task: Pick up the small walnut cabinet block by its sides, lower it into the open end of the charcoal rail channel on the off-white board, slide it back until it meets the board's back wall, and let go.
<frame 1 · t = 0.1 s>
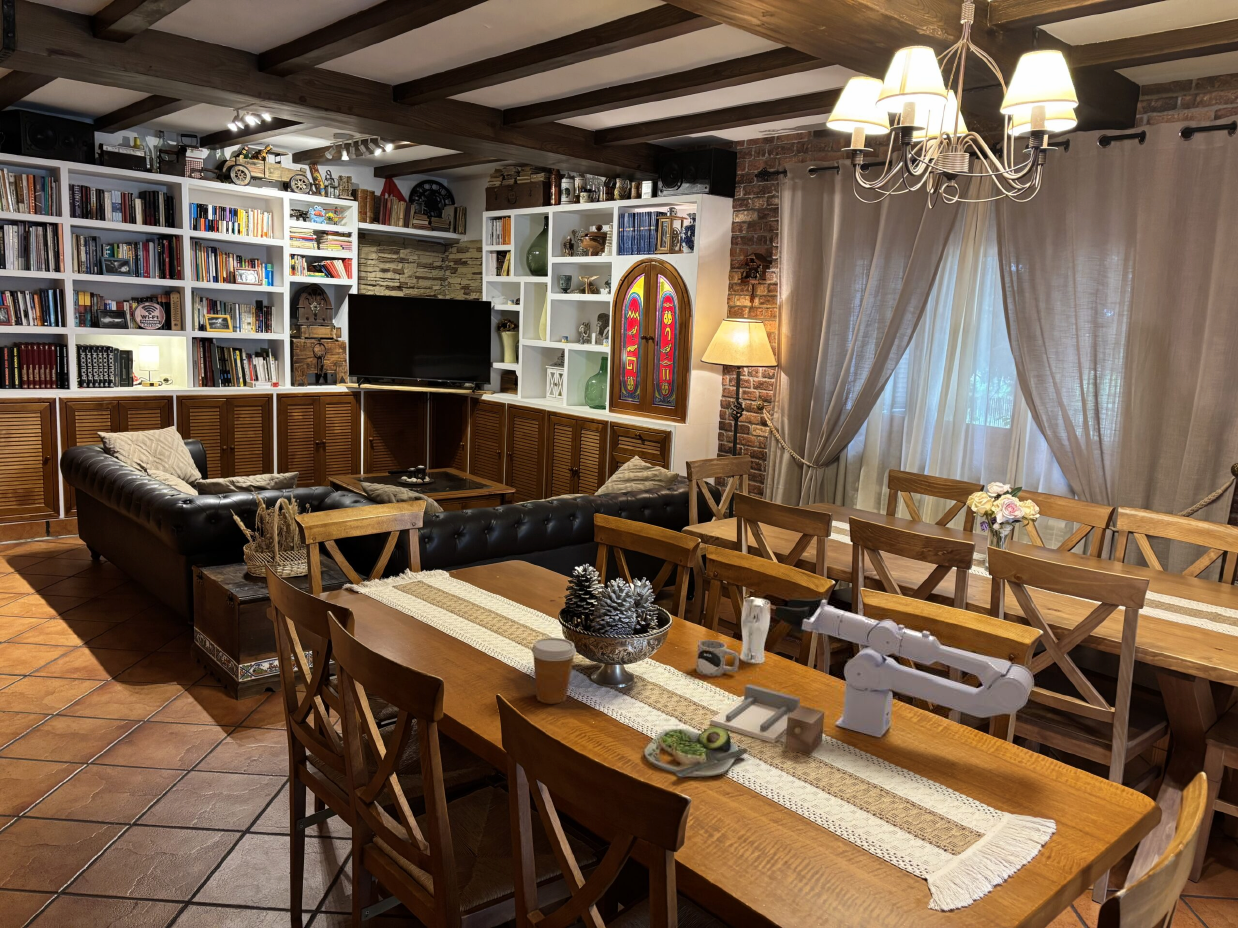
hand: (782, 607, 198), 22 cm above the table, tool horizontal, fingers open, 7 cm apart
disposable coffee cup: (551, 698, 196), on the table
beer glass: (752, 660, 227), on the table
cleat board: (757, 720, 190), on the table
avocado toast plate: (693, 758, 172), on the table
mug: (716, 673, 217), on the table
cabinet block: (803, 745, 180), on the table
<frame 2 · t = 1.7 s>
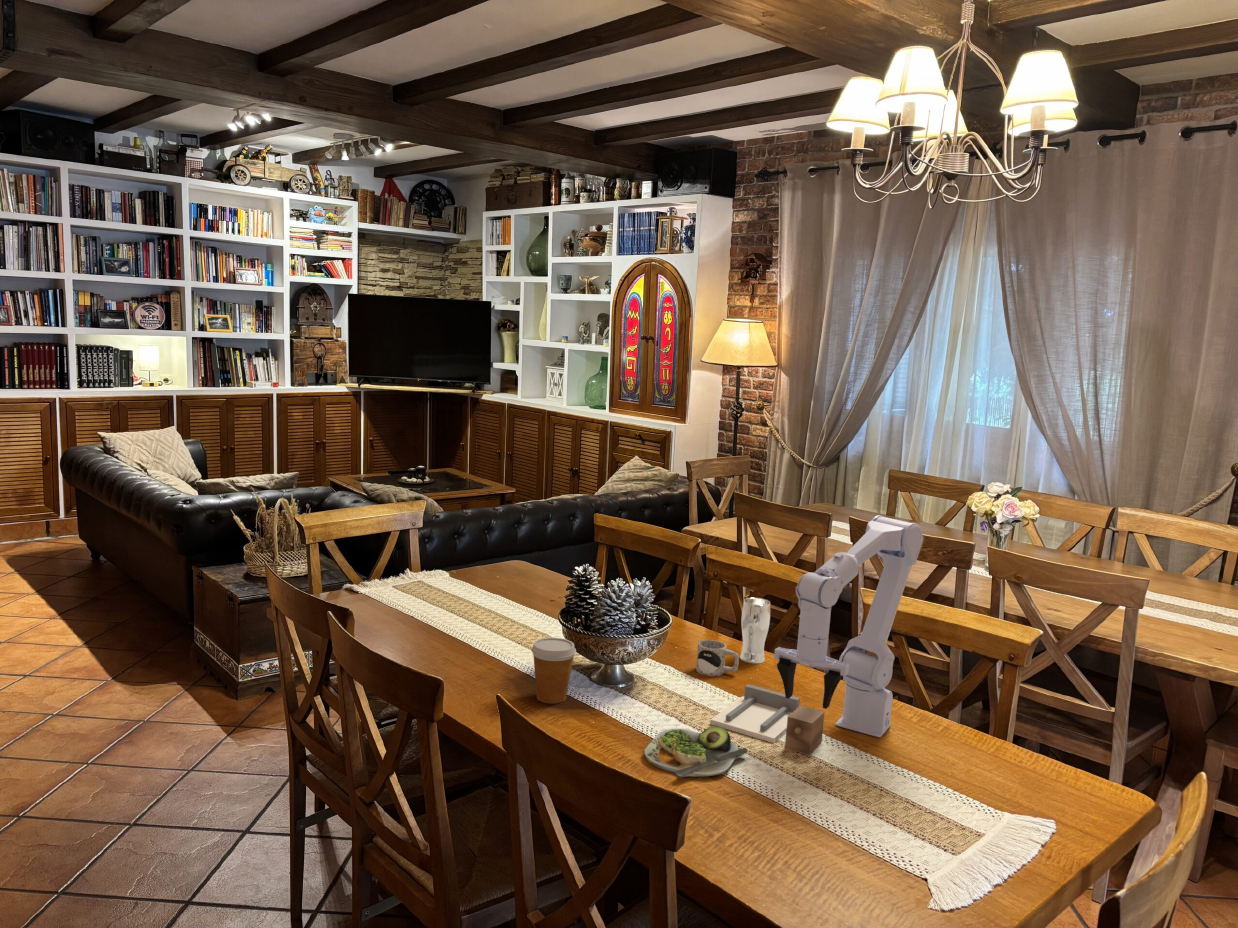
hand: (807, 701, 179), 9 cm above the table, tool pointing down, fingers open, 7 cm apart
nothing on the table moved.
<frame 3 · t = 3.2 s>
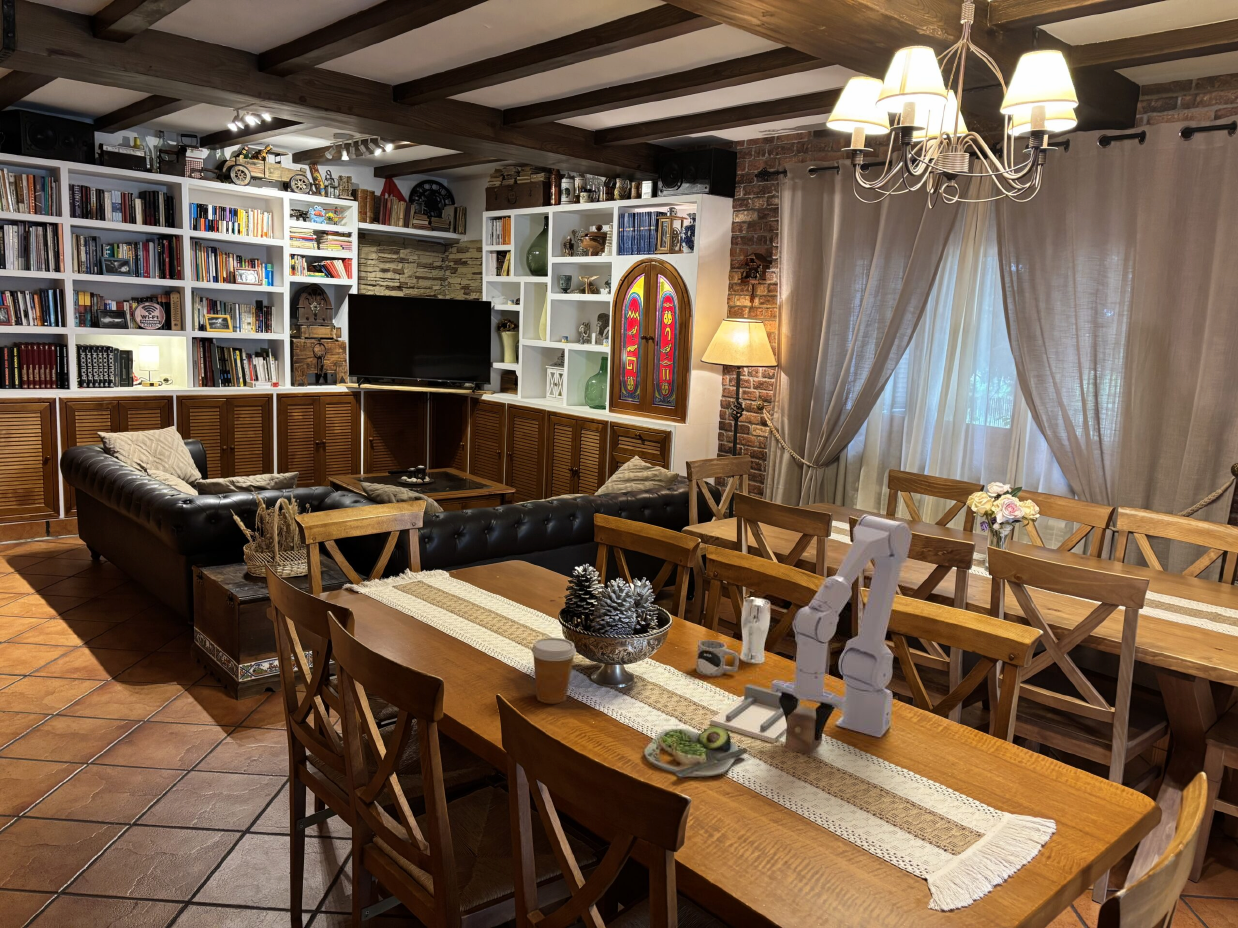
hand: (804, 734, 179), 2 cm above the table, tool pointing down, fingers closed on cabinet block, 5 cm apart
cabinet block: (803, 744, 180), on the table, touching gripper
everything else where it was.
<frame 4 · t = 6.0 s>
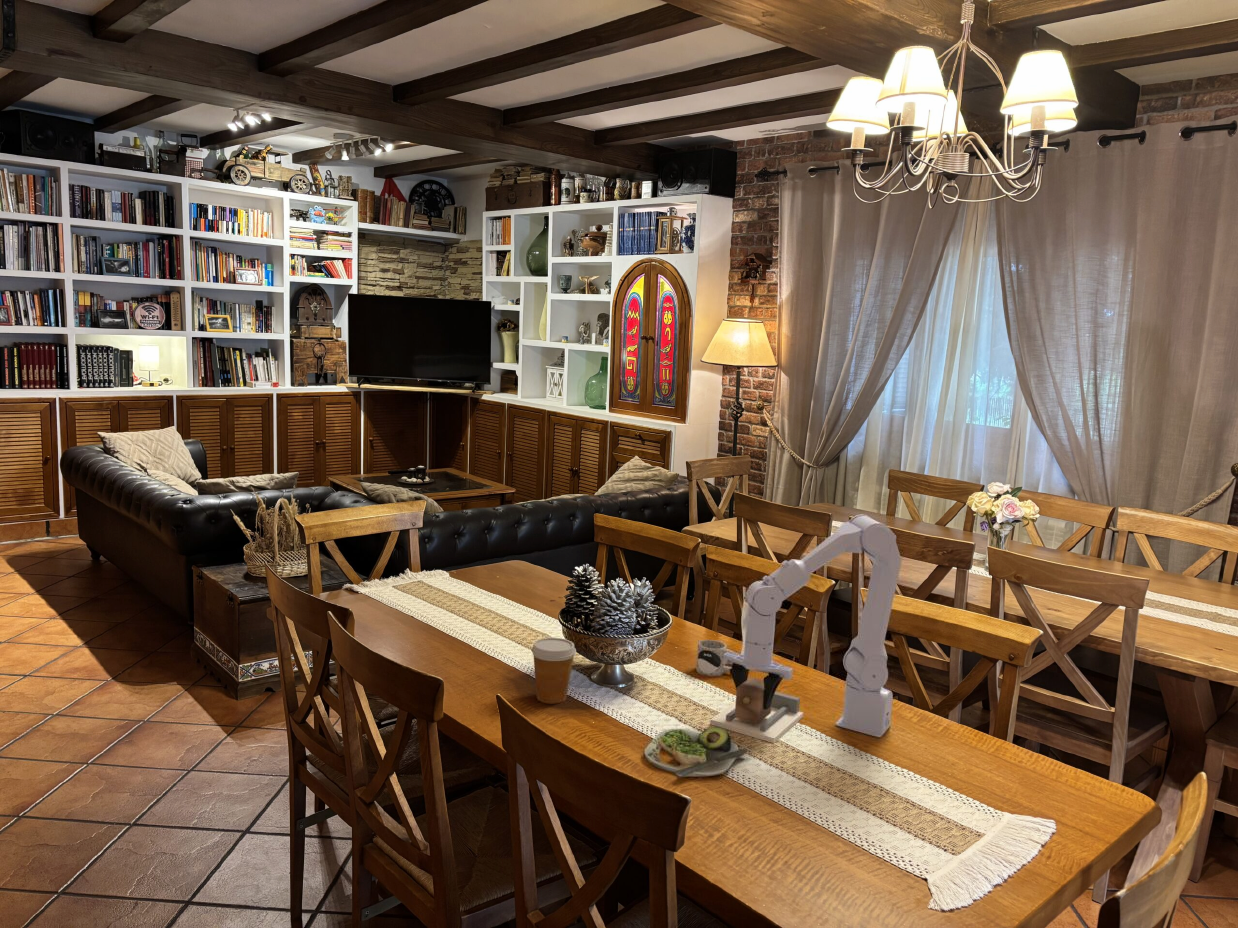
hand: (753, 704, 187), 4 cm above the table, tool pointing down, fingers closed on cabinet block, 5 cm apart
cabinet block: (752, 715, 188), point 2 cm above the table, touching gripper
everything else where it was.
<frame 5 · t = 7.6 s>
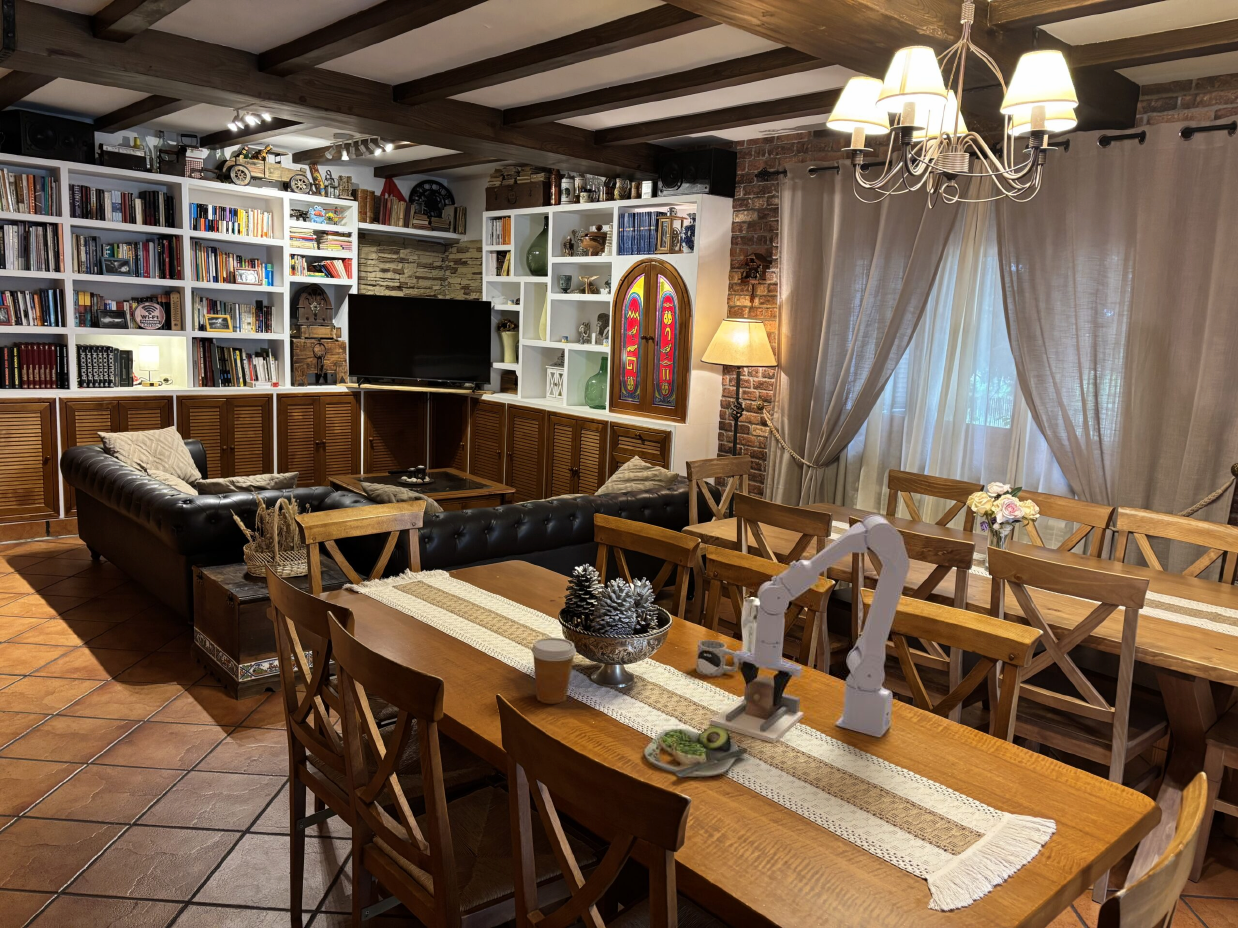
hand: (764, 701, 192), 3 cm above the table, tool pointing down, fingers closed on cabinet block, 5 cm apart
cabinet block: (762, 711, 192), point 1 cm above the table, touching gripper
everything else where it was.
when the fingers open (3 cm above the table, at t = 8.8 s): cabinet block stays where it is, resting on cleat board.
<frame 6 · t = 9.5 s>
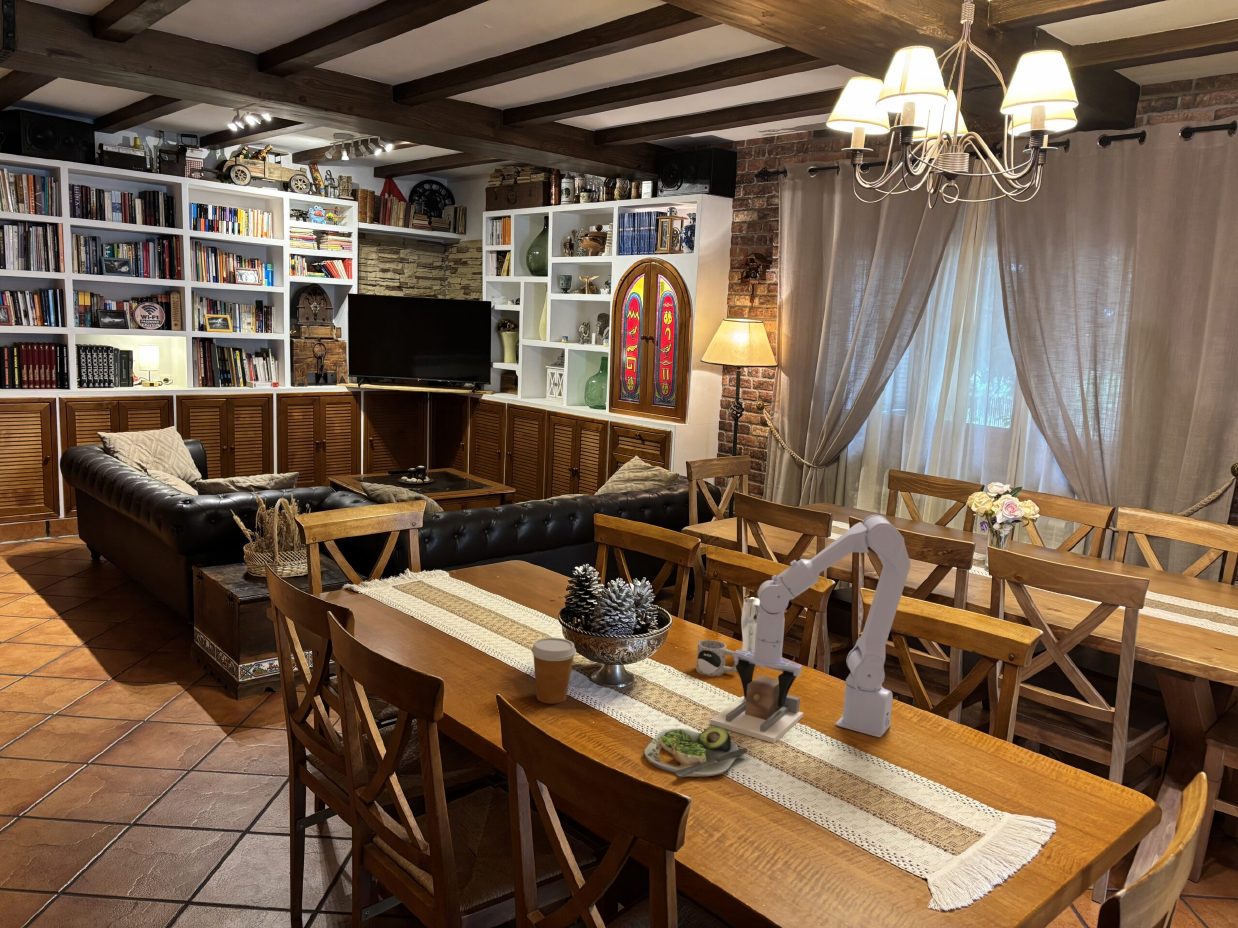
hand: (764, 700, 192), 4 cm above the table, tool pointing down, fingers open, 7 cm apart
cabinet block: (762, 711, 192), point 1 cm above the table, touching cleat board
everything else where it was.
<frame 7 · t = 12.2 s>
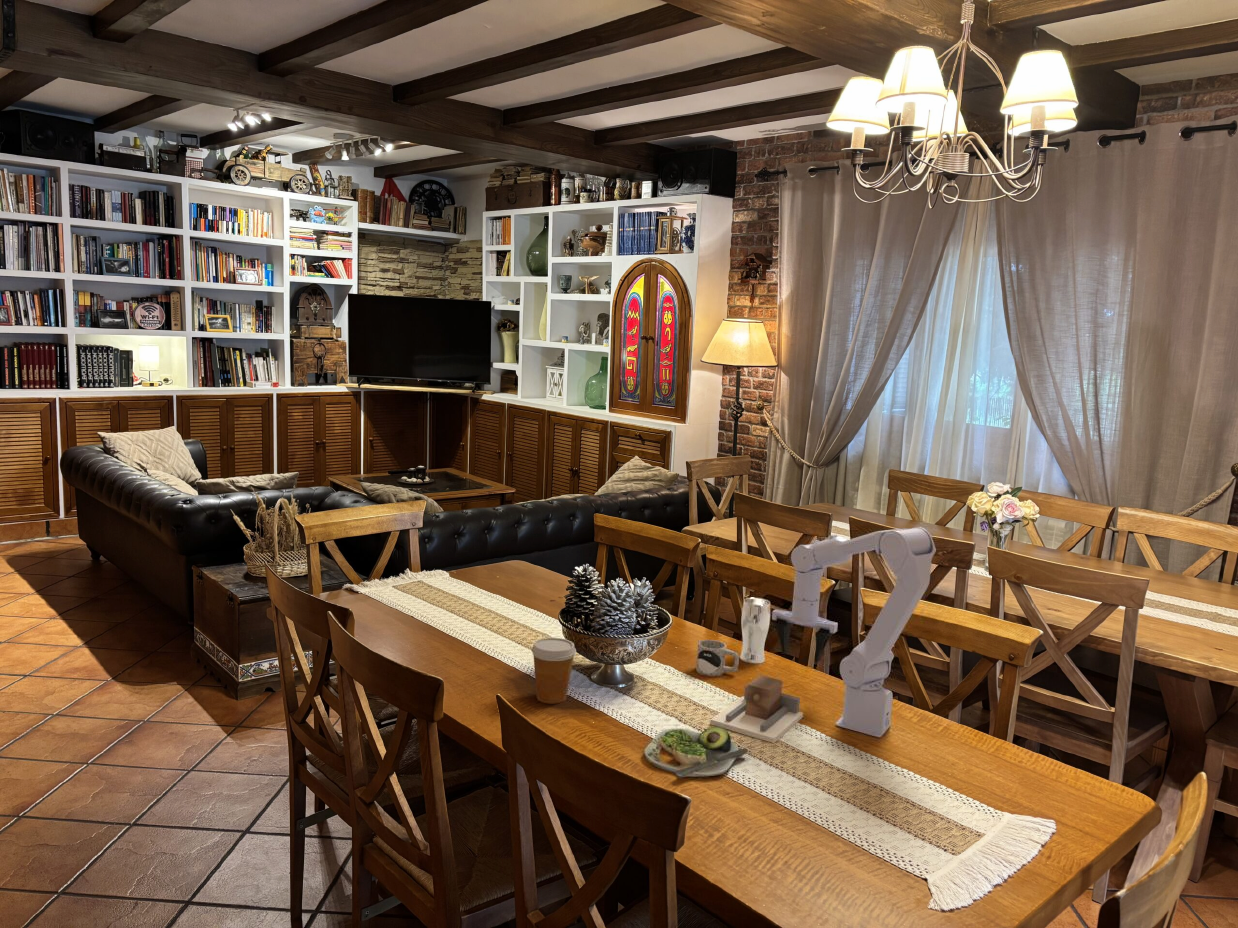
hand: (801, 656, 203), 9 cm above the table, tool pointing down, fingers open, 7 cm apart
nothing on the table moved.
at the end: cabinet block 0.1 cm from the target spot, point 1.0 cm above the table; cabinet block tilted 0°; the gripper is holding nothing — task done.
